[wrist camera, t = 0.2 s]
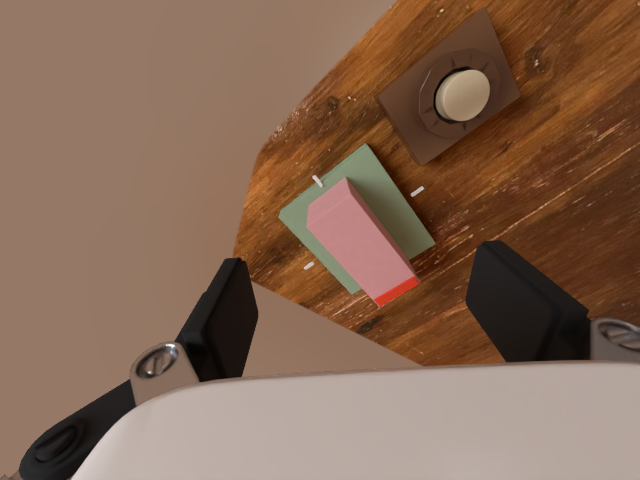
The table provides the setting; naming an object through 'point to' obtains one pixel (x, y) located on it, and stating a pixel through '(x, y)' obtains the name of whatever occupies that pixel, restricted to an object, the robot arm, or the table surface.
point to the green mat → (379, 198)
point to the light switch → (428, 74)
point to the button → (462, 95)
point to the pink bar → (360, 243)
